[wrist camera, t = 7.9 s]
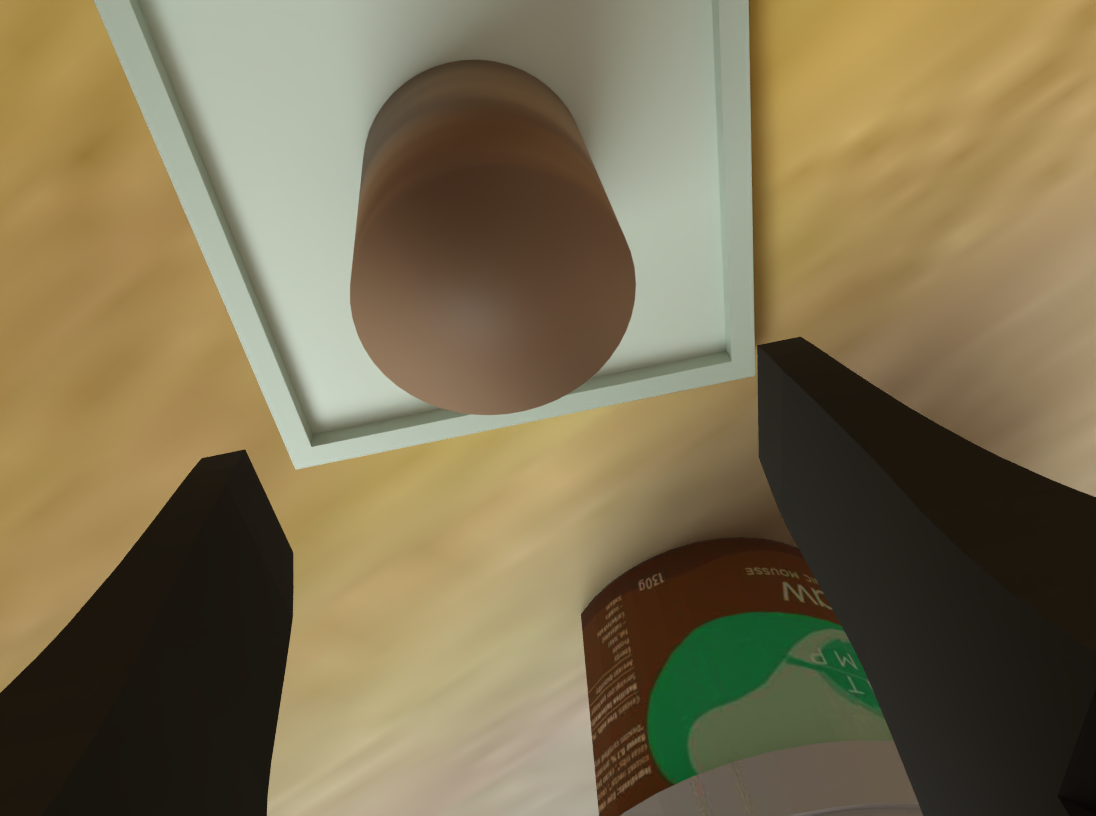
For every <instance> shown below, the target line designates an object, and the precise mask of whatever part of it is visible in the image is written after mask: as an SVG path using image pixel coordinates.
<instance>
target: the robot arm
mask: <svg viewBox="0 0 1096 816" xmlns="http://www.w3.org/2000/svg"><path fill="white" fill-rule="evenodd" d="M757 355H758V426H759V459H760V461H761V464H762V467H763V469H764V472H765V475H766V478H767V480H768V483H769V486H770V488H771V491H772V493H773V496H774V498H775V501H776V503H777V506H778V509H779V511H780V514H781V516H782V518H783V520H784V522H785V524H786V526H787V528H788V529H789V531H790V533H791V535H792V537H793V539H794V541H795V542H796V544H797V546H798V548H799V550H800V552H801V553H802V555H803V557H804V559H805V561H806V563H807V564H808V566H809V568H810V570H811V572H812V574H813V575H814V577H815V579H816V581H817V583H818V584H819V586H820V588H821V590H822V592H823V593H824V595H825V597H826V599H827V601H828V603H829V604H830V606H831V608H832V610H833V612H834V613H835V615H836V617H837V619H838V621H839V623H840V624H841V626H842V628H843V630H844V632H845V633H846V635H847V637H848V639H849V641H850V643H851V645H852V647H853V649H854V651H855V653H856V655H857V657H858V659H859V661H860V663H861V665H862V667H863V669H864V671H865V673H866V676H867V678H868V680H869V683H870V685H871V687H872V690H873V692H874V695H875V697H876V699H877V702H878V704H879V707H880V709H881V711H882V714H883V716H884V719H885V721H886V723H887V726H888V728H889V730H890V733H891V735H892V738H893V740H894V743H895V745H896V748H897V750H898V753H899V755H900V758H901V760H902V763H903V765H904V768H905V771H906V773H907V776H908V778H909V781H910V783H911V786H912V788H913V791H914V793H915V796H916V798H917V801H918V803H919V806H920V809H921V811H922V814H923V816H1096V497H1093V496H1091V495H1088V494H1085V493H1083V492H1080V491H1077V490H1075V489H1072V488H1070V487H1067V486H1065V485H1062V484H1060V483H1057V482H1055V481H1053V480H1050V479H1048V478H1046V477H1043V476H1041V475H1039V474H1037V473H1035V472H1032V471H1030V470H1028V469H1026V468H1023V467H1021V466H1019V465H1017V464H1015V463H1012V462H1010V461H1008V460H1006V459H1003V458H1001V457H999V456H997V455H995V454H993V453H991V452H989V451H987V450H985V449H983V448H981V447H979V446H977V445H975V444H973V443H971V442H970V441H968V440H966V439H964V438H962V437H960V436H959V435H957V434H955V433H953V432H951V431H949V430H947V429H946V428H944V427H942V426H940V425H938V424H937V423H935V422H933V421H931V420H930V419H928V418H926V417H924V416H923V415H921V414H919V413H918V412H916V411H914V410H913V409H911V408H909V407H908V406H906V405H904V404H903V403H901V402H899V401H898V400H896V399H895V398H893V397H891V396H890V395H888V394H887V393H885V392H884V391H882V390H880V389H879V388H877V387H876V386H874V385H873V384H871V383H870V382H868V381H866V380H865V379H863V378H862V377H860V376H859V375H857V374H856V373H854V372H853V371H851V370H850V369H848V368H847V367H845V366H844V365H842V364H841V363H839V362H838V361H836V360H835V359H834V358H832V357H831V356H829V355H828V354H826V353H825V352H823V351H822V350H820V349H819V348H817V347H816V346H814V345H813V344H811V343H810V342H808V341H806V340H805V339H803V338H802V337H797V338H792V339H787V340H782V341H777V342H772V343H767V344H762V345H757ZM292 619H293V551H292V549H291V547H290V545H289V543H288V540H287V538H286V536H285V534H284V532H283V530H282V528H281V525H280V523H279V521H278V519H277V517H276V515H275V513H274V510H273V508H272V506H271V504H270V502H269V500H268V498H267V495H266V493H265V491H264V489H263V487H262V485H261V483H260V480H259V478H258V476H257V474H256V472H255V470H254V467H253V465H252V463H251V461H250V459H249V457H248V455H247V452H246V450H240V451H236V452H231V453H226V454H221V455H216V456H211V457H206V458H202V459H201V460H200V461H199V462H198V463H197V465H196V466H195V467H194V468H193V469H192V471H191V472H190V473H189V474H188V476H187V477H186V478H185V480H184V481H183V482H182V483H181V485H180V486H179V487H178V489H177V490H176V491H175V493H174V494H173V495H172V497H171V498H170V499H169V501H168V502H167V503H166V505H165V506H164V507H163V508H162V510H161V511H160V512H159V514H158V515H157V516H156V518H155V519H154V520H153V522H152V523H151V524H150V525H149V527H148V528H147V529H146V531H145V532H144V533H143V534H142V536H141V537H140V538H139V540H138V541H137V542H136V543H135V545H134V546H133V547H132V548H131V550H130V551H129V552H128V554H127V555H126V556H125V557H124V559H123V560H122V561H121V563H120V564H119V565H118V566H117V568H116V569H115V570H114V571H113V572H112V573H111V575H110V576H109V577H108V578H107V579H106V580H105V582H104V583H103V584H102V585H101V586H100V587H99V589H98V590H97V591H96V592H95V593H94V594H93V596H92V597H91V598H90V599H89V600H88V601H87V603H86V604H85V605H84V606H83V607H82V608H81V610H80V611H79V612H78V613H77V614H76V615H75V617H74V618H73V619H72V620H71V621H70V622H69V624H68V625H67V626H66V627H65V628H64V629H63V630H62V631H61V632H60V633H59V634H58V636H57V637H56V638H55V639H54V640H53V641H52V642H51V643H50V644H49V645H48V646H47V647H46V648H45V649H44V650H43V651H42V652H41V653H40V654H39V656H38V657H37V658H36V659H35V660H34V661H32V662H31V663H30V664H29V665H28V666H27V667H26V668H25V669H24V670H23V671H22V672H21V673H20V674H19V675H18V676H17V677H16V678H15V679H14V680H13V681H12V682H11V683H10V684H9V685H8V686H7V687H6V688H5V689H4V690H3V691H2V692H1V693H0V816H267V796H268V786H269V777H270V767H271V760H272V753H273V747H274V740H275V733H276V727H277V720H278V714H279V707H280V701H281V694H282V688H283V681H284V675H285V668H286V661H287V654H288V647H289V641H290V634H291V626H292Z"/></svg>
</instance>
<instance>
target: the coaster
mask: <svg viewBox="0 0 1096 816" xmlns="http://www.w3.org/2000/svg"><path fill="white" fill-rule="evenodd" d="M94 2H95V5H96V7H97V9H98V12H99V14H100V16H101V18H102V21H103V23H104V25H105V28H106V30H107V32H108V35H109V37H110V39H111V42H112V44H113V46H114V49H115V51H116V53H117V56H118V58H119V60H120V63H121V65H122V67H123V70H124V72H125V74H126V77H127V79H128V81H129V84H130V86H131V88H132V91H133V93H134V95H135V97H136V100H137V102H138V104H139V107H140V109H141V111H142V114H143V116H144V118H145V121H146V123H147V125H148V128H149V130H150V132H151V135H152V137H153V139H154V142H155V144H156V146H157V149H158V151H159V153H160V156H161V158H162V160H163V163H164V165H165V167H166V169H167V172H168V174H169V176H170V179H171V181H172V183H173V186H174V188H175V190H176V193H177V195H178V197H179V200H180V202H181V204H182V207H183V209H184V211H185V214H186V216H187V218H188V221H189V223H190V225H191V228H192V230H193V232H194V235H195V237H196V239H197V242H198V244H199V246H200V248H201V251H202V253H203V255H204V258H205V260H206V262H207V265H208V267H209V269H210V272H211V274H212V276H213V279H214V281H215V283H216V286H217V288H218V290H219V293H220V295H221V297H222V300H223V302H224V304H225V307H226V309H227V311H228V314H229V316H230V318H231V320H232V323H233V325H234V327H235V330H236V332H237V334H238V337H239V339H240V341H241V344H242V346H243V348H244V351H245V353H246V355H247V358H248V360H249V362H250V365H251V367H252V369H253V372H254V374H255V376H256V379H257V381H258V383H259V386H260V388H261V390H262V393H263V395H264V397H265V399H266V402H267V404H268V406H269V409H270V411H271V413H272V416H273V418H274V420H275V423H276V425H277V427H278V430H279V432H280V434H281V437H282V439H283V441H284V444H285V446H286V448H287V451H288V453H289V455H290V458H291V460H292V462H293V465H294V467H295V469H301V468H306V467H311V466H316V465H321V464H325V463H330V462H335V461H340V460H345V459H350V458H355V457H360V456H365V455H370V454H374V453H379V452H384V451H389V450H394V449H399V448H404V447H409V446H414V445H419V444H423V443H428V442H433V441H438V440H443V439H448V438H453V437H458V436H463V435H468V434H473V433H477V432H482V431H487V430H492V429H497V428H502V427H507V426H512V425H517V424H522V423H526V422H531V421H536V420H541V419H546V418H551V417H556V416H561V415H566V414H571V413H576V412H580V411H585V410H590V409H595V408H600V407H605V406H610V405H615V404H620V403H625V402H629V401H634V400H639V399H644V398H649V397H654V396H659V395H664V394H669V393H674V392H679V391H683V390H688V389H693V388H698V387H703V386H708V385H713V384H718V383H723V382H728V381H732V380H737V379H742V378H747V377H752V376H755V335H754V278H753V221H752V164H751V107H750V50H749V0H94ZM460 60H487V61H495V62H499V63H503V64H508V65H511V66H513V67H516V68H518V69H521V70H523V71H525V72H527V73H529V74H531V75H532V76H534V77H536V78H537V79H539V80H540V81H541V82H543V83H544V84H546V85H547V86H548V87H549V88H550V89H551V90H552V91H553V92H554V93H555V94H556V95H557V96H558V97H559V98H560V99H561V100H562V102H563V103H564V104H565V105H566V107H567V108H568V110H569V111H570V113H571V115H572V117H573V118H574V120H575V122H576V124H577V127H578V129H579V131H580V134H581V136H582V138H583V141H584V143H585V145H586V148H587V150H588V152H589V155H590V157H591V159H592V162H593V164H594V166H595V169H596V171H597V173H598V176H599V178H600V180H601V183H602V185H603V187H604V190H605V192H606V194H607V197H608V199H609V201H610V204H611V206H612V208H613V211H614V213H615V215H616V218H617V220H618V222H619V225H620V227H621V229H622V232H623V234H624V236H625V239H626V241H627V244H628V246H629V249H630V251H631V255H632V259H633V263H634V267H635V279H636V291H635V302H634V307H633V312H632V316H631V319H630V322H629V325H628V327H627V330H626V332H625V334H624V336H623V338H622V340H621V342H620V344H619V346H618V347H617V349H616V350H615V352H614V353H613V354H612V356H611V357H610V359H609V360H608V361H607V362H606V363H605V364H604V365H603V367H602V368H601V369H600V370H599V371H598V372H597V373H596V374H595V375H593V376H592V377H591V378H590V379H589V380H588V381H587V382H585V383H584V384H583V385H581V386H580V387H578V388H577V389H575V390H574V391H572V392H571V393H569V394H567V395H565V396H563V397H561V398H560V399H558V400H555V401H553V402H551V403H548V404H546V405H543V406H540V407H537V408H534V409H530V410H527V411H522V412H517V413H511V414H501V415H473V414H466V413H458V412H454V411H450V410H446V409H442V408H439V407H436V406H434V405H431V404H428V403H426V402H424V401H422V400H420V399H418V398H416V397H414V396H412V395H410V394H409V393H407V392H406V391H404V390H403V389H401V388H400V387H398V386H397V385H396V384H394V383H393V382H392V381H391V380H390V379H389V378H387V377H386V376H385V375H384V374H383V373H382V372H381V370H380V369H379V368H378V367H377V366H376V365H375V364H374V363H373V361H372V360H371V358H370V357H369V355H368V354H367V352H366V351H365V349H364V347H363V345H362V343H361V341H360V339H359V337H358V335H357V331H356V328H355V325H354V322H353V319H352V312H351V306H350V281H351V271H352V261H353V252H354V242H355V232H356V222H357V213H358V203H359V193H360V184H361V174H362V164H363V156H364V149H365V143H366V140H367V137H368V133H369V130H370V128H371V126H372V123H373V121H374V119H375V117H376V115H377V114H378V112H379V111H380V109H381V108H382V106H383V104H384V103H385V102H386V101H387V100H388V99H389V97H390V96H391V95H392V94H393V93H394V92H395V91H396V90H397V89H398V88H400V87H401V86H402V85H403V84H404V83H405V82H407V81H408V80H410V79H411V78H413V77H414V76H416V75H417V74H420V73H422V72H424V71H426V70H428V69H430V68H432V67H435V66H439V65H442V64H445V63H449V62H455V61H460Z"/></svg>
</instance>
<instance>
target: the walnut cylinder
mask: <svg viewBox="0 0 1096 816" xmlns="http://www.w3.org/2000/svg"><path fill="white" fill-rule="evenodd" d="M635 291H636V279H635V267H634V263H633V259H632V255H631V251H630V249H629V246H628V244H627V241H626V239H625V236H624V234H623V232H622V229H621V227H620V225H619V222H618V220H617V218H616V215H615V213H614V211H613V208H612V206H611V204H610V201H609V199H608V197H607V194H606V192H605V190H604V187H603V185H602V183H601V180H600V178H599V176H598V173H597V171H596V169H595V166H594V164H593V162H592V159H591V157H590V155H589V152H588V150H587V148H586V145H585V143H584V141H583V138H582V136H581V134H580V131H579V129H578V127H577V124H576V122H575V120H574V118H573V117H572V115H571V113H570V111H569V110H568V108H567V107H566V105H565V104H564V103H563V102H562V100H561V99H560V98H559V97H558V96H557V95H556V94H555V93H554V92H553V91H552V90H551V89H550V88H549V87H548V86H547V85H546V84H544V83H543V82H541V81H540V80H539V79H537V78H536V77H534V76H532V75H531V74H529V73H527V72H525V71H523V70H521V69H518V68H516V67H513V66H511V65H508V64H503V63H499V62H495V61H487V60H460V61H455V62H449V63H445V64H442V65H439V66H435V67H432V68H430V69H428V70H426V71H424V72H422V73H420V74H417V75H416V76H414V77H413V78H411V79H410V80H408V81H407V82H405V83H404V84H403V85H402V86H401V87H400V88H398V89H397V90H396V91H395V92H394V93H393V94H392V95H391V96H390V97H389V99H388V100H387V101H386V102H385V103H384V104H383V106H382V108H381V109H380V111H379V112H378V114H377V115H376V117H375V119H374V121H373V123H372V126H371V128H370V130H369V133H368V137H367V140H366V143H365V149H364V156H363V164H362V174H361V184H360V193H359V203H358V213H357V222H356V232H355V242H354V252H353V261H352V271H351V281H350V306H351V312H352V319H353V322H354V325H355V328H356V331H357V335H358V337H359V339H360V341H361V343H362V345H363V347H364V349H365V351H366V352H367V354H368V355H369V357H370V358H371V360H372V361H373V363H374V364H375V365H376V366H377V367H378V368H379V369H380V370H381V372H382V373H383V374H384V375H385V376H386V377H387V378H389V379H390V380H391V381H392V382H393V383H394V384H396V385H397V386H398V387H400V388H401V389H403V390H404V391H406V392H407V393H409V394H410V395H412V396H414V397H416V398H418V399H420V400H422V401H424V402H426V403H428V404H431V405H434V406H436V407H439V408H442V409H446V410H450V411H454V412H458V413H466V414H473V415H501V414H511V413H517V412H522V411H527V410H530V409H534V408H537V407H540V406H543V405H546V404H548V403H551V402H553V401H555V400H558V399H560V398H561V397H563V396H565V395H567V394H569V393H571V392H572V391H574V390H575V389H577V388H578V387H580V386H581V385H583V384H584V383H585V382H587V381H588V380H589V379H590V378H591V377H592V376H593V375H595V374H596V373H597V372H598V371H599V370H600V369H601V368H602V367H603V365H604V364H605V363H606V362H607V361H608V360H609V359H610V357H611V356H612V354H613V353H614V352H615V350H616V349H617V347H618V346H619V344H620V342H621V340H622V338H623V336H624V334H625V332H626V330H627V327H628V325H629V322H630V319H631V316H632V312H633V307H634V302H635Z"/></svg>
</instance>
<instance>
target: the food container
mask: <svg viewBox="0 0 1096 816" xmlns="http://www.w3.org/2000/svg"><path fill="white" fill-rule="evenodd" d="M581 620H582V631H583V642H584V653H585V664H586V675H587V686H588V698H589V709H590V720H591V731H592V742H593V753H594V764H595V775H596V786H597V797H598V808H599V816H923V814H922V811H921V809H920V806H919V803H918V801H917V798H916V796H915V793H914V791H913V788H912V786H911V783H910V781H909V778H908V776H907V773H906V771H905V768H904V765H903V763H902V760H901V758H900V755H899V753H898V750H897V748H896V745H895V743H894V740H893V738H892V735H891V733H890V730H889V728H888V726H887V723H886V721H885V719H884V716H883V714H882V711H881V709H880V707H879V704H878V702H877V699H876V697H875V695H874V692H873V690H872V687H871V685H870V683H869V680H868V678H867V676H866V673H865V671H864V669H863V667H862V665H861V663H860V661H859V659H858V657H857V655H856V653H855V651H854V649H853V647H852V645H851V643H850V641H849V639H848V637H847V635H846V633H845V632H844V630H843V628H842V626H841V624H840V623H839V621H838V619H837V617H836V615H835V613H834V612H833V610H832V608H831V606H830V604H829V603H828V601H827V599H826V597H825V595H824V593H823V592H822V590H821V588H820V586H819V584H818V583H817V581H816V579H815V577H814V575H813V574H812V572H811V570H810V568H809V566H808V564H807V563H806V561H805V559H804V557H803V555H802V553H801V552H800V550H799V549H798V548H795V547H792V546H790V545H787V544H784V543H781V542H776V541H771V540H767V539H759V538H743V537H739V538H723V539H714V540H709V541H703V542H698V543H693V544H690V545H686V546H683V547H680V548H676V549H673V550H670V551H668V552H665V553H663V554H660V555H658V556H656V557H653V558H651V559H649V560H647V561H645V562H643V563H641V564H639V565H638V566H636V567H634V568H632V569H630V570H629V571H627V572H626V573H624V574H623V575H622V576H620V577H619V578H617V579H616V580H615V581H613V582H612V583H610V584H609V585H608V586H607V587H606V588H605V589H604V590H603V591H602V592H600V593H599V594H598V595H597V596H596V597H595V598H594V599H593V600H592V602H591V603H590V604H589V605H588V607H587V608H586V609H585V610H584V612H583V613H582V614H581Z"/></svg>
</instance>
